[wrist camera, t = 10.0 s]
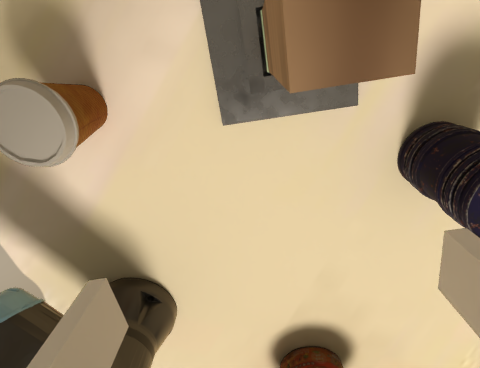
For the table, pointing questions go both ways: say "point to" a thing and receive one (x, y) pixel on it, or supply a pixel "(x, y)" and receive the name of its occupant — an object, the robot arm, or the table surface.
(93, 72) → the table surface
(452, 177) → the storage jar
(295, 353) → the food container
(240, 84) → the grey socket base
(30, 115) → the disposable coffee cup
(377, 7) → the column
